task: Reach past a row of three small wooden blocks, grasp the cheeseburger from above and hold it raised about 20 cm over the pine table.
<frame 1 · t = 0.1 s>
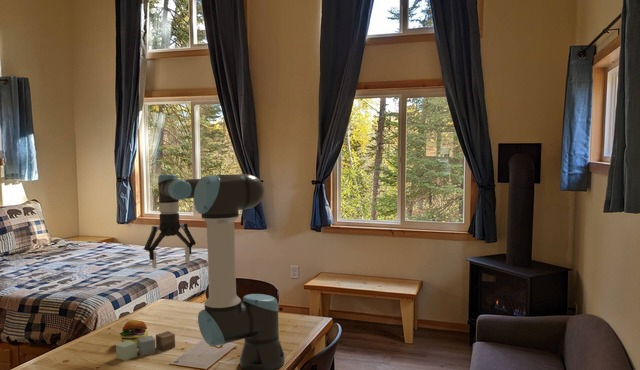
hand: (171, 265, 194), 28 cm above the table, fingers open, 13 cm apart
cheeseburger: (134, 343, 186), on the table
slate block: (146, 352, 177), on the table
walnut block: (165, 347, 181), on the table
sage block: (126, 357, 173), on the table
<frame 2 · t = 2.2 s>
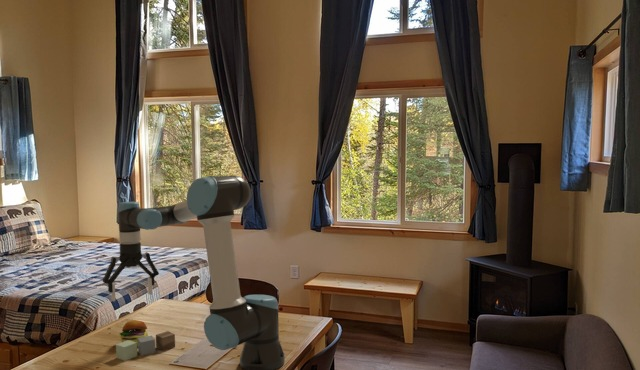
hand: (132, 297, 185), 18 cm above the table, fingers open, 13 cm apart
nothing on the table moved.
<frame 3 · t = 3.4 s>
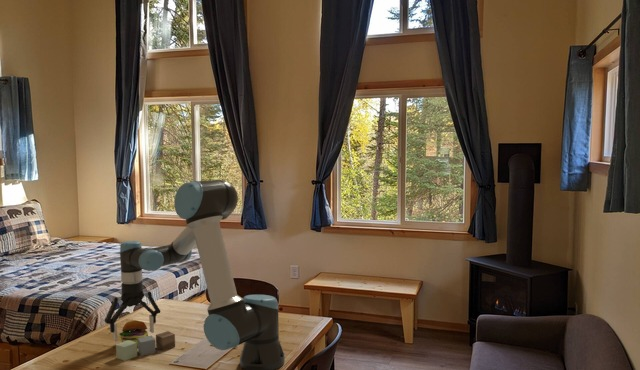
hand: (134, 336, 186), 3 cm above the table, fingers open, 13 cm apart
nothing on the table moved.
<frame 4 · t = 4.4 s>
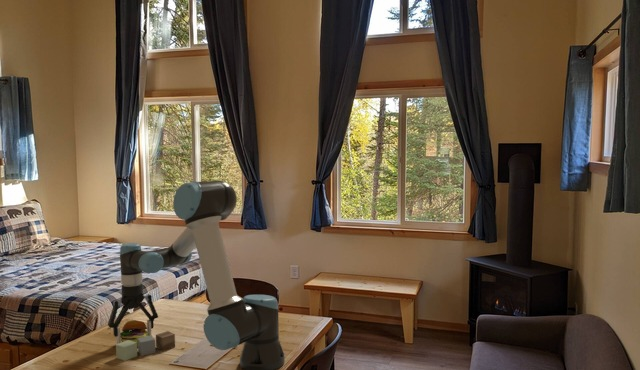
hand: (134, 340, 186), 1 cm above the table, fingers closed on cheeseburger, 11 cm apart
cheeseburger: (134, 344, 185), on the table, touching gripper
everything else where it was.
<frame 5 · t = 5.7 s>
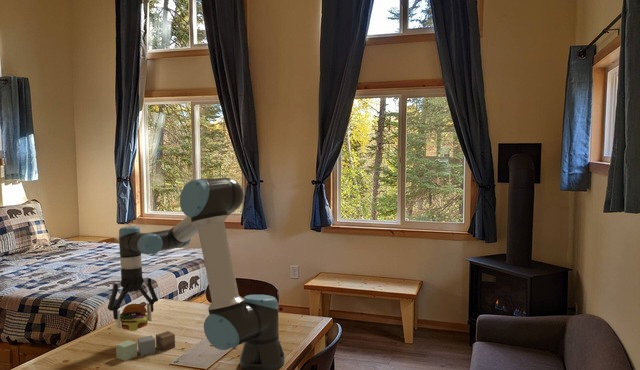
hand: (134, 323, 185), 8 cm above the table, fingers closed on cheeseburger, 11 cm apart
cheeseburger: (134, 327, 185), point 6 cm above the table, touching gripper
everything else where it was.
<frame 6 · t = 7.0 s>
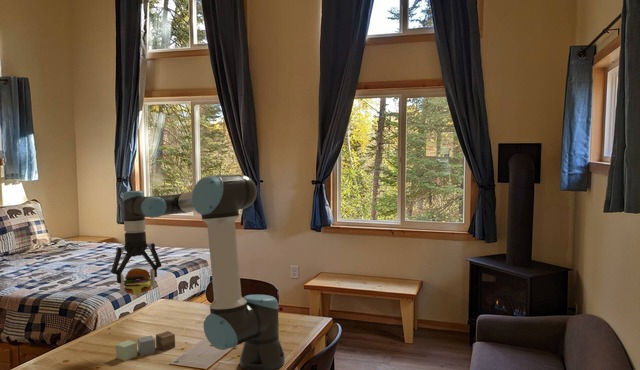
hand: (137, 288, 184), 21 cm above the table, fingers closed on cheeseburger, 11 cm apart
cheeseburger: (137, 292, 184), point 20 cm above the table, touching gripper
everything else where it was.
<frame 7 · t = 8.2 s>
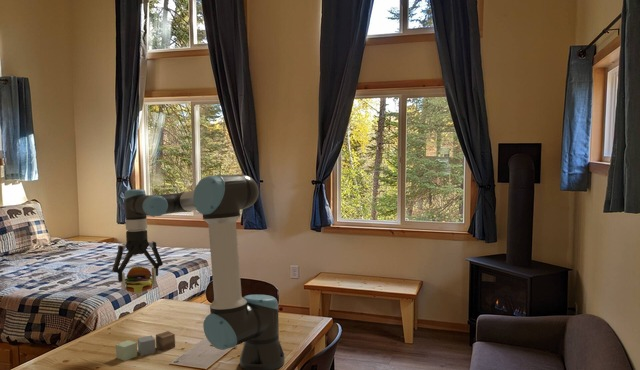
hand: (139, 287, 184), 22 cm above the table, fingers closed on cheeseburger, 11 cm apart
cheeseburger: (139, 290, 184), point 21 cm above the table, touching gripper
everything else where it was.
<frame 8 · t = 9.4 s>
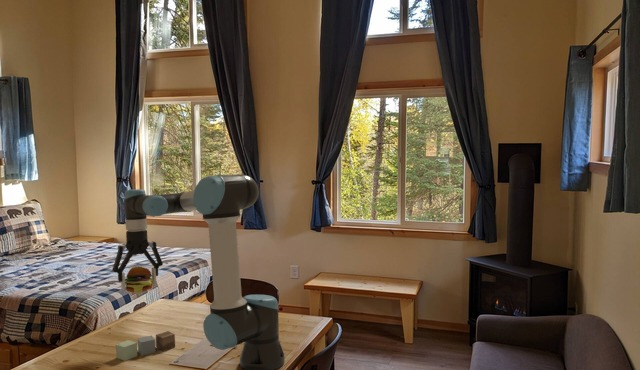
hand: (139, 287, 184), 22 cm above the table, fingers closed on cheeseburger, 11 cm apart
cheeseburger: (139, 290, 184), point 21 cm above the table, touching gripper
everything else where it was.
at the end: the gripper is holding cheeseburger; cheeseburger point 20.6 cm above the table; slate block moved 0.1 cm from its start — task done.
